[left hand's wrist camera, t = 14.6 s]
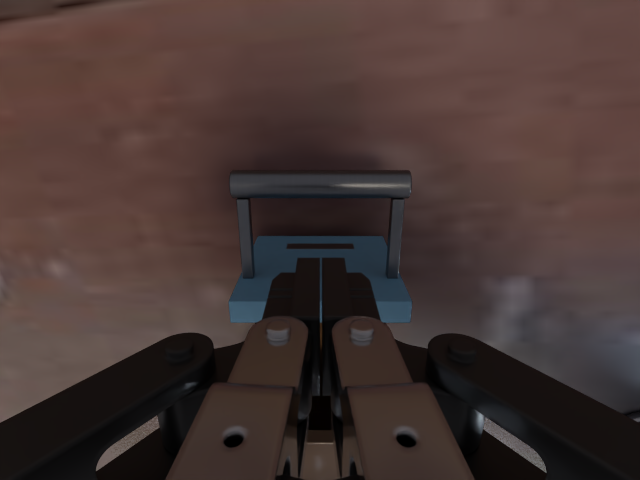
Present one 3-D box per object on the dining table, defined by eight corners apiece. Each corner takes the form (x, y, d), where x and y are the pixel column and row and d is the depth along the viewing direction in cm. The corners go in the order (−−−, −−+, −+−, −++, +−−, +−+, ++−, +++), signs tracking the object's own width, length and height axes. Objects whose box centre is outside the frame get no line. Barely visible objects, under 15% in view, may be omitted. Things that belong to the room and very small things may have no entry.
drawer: (252, 152, 25) (216, 181, 16) (388, 152, 25) (424, 182, 16) (269, 432, 33) (252, 549, 25) (370, 432, 33) (387, 549, 25)
